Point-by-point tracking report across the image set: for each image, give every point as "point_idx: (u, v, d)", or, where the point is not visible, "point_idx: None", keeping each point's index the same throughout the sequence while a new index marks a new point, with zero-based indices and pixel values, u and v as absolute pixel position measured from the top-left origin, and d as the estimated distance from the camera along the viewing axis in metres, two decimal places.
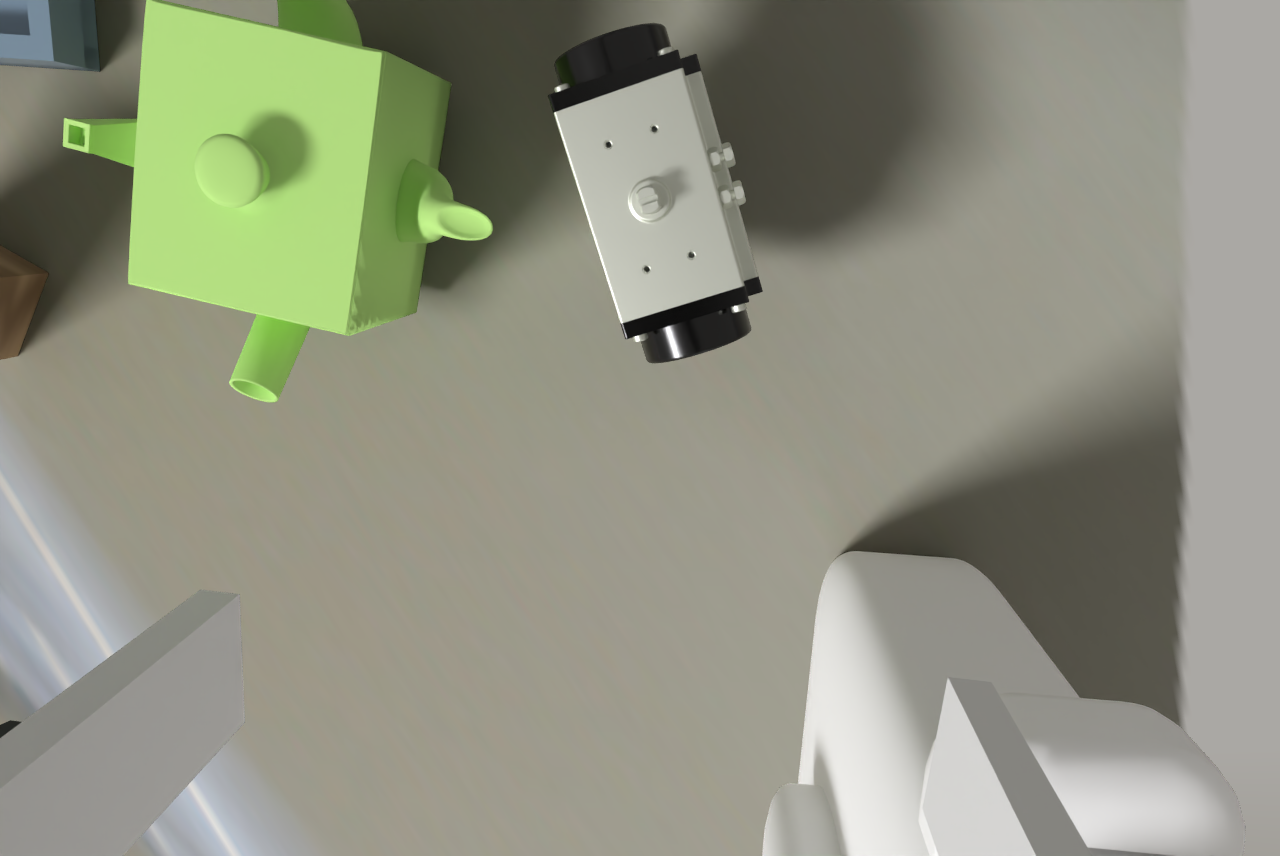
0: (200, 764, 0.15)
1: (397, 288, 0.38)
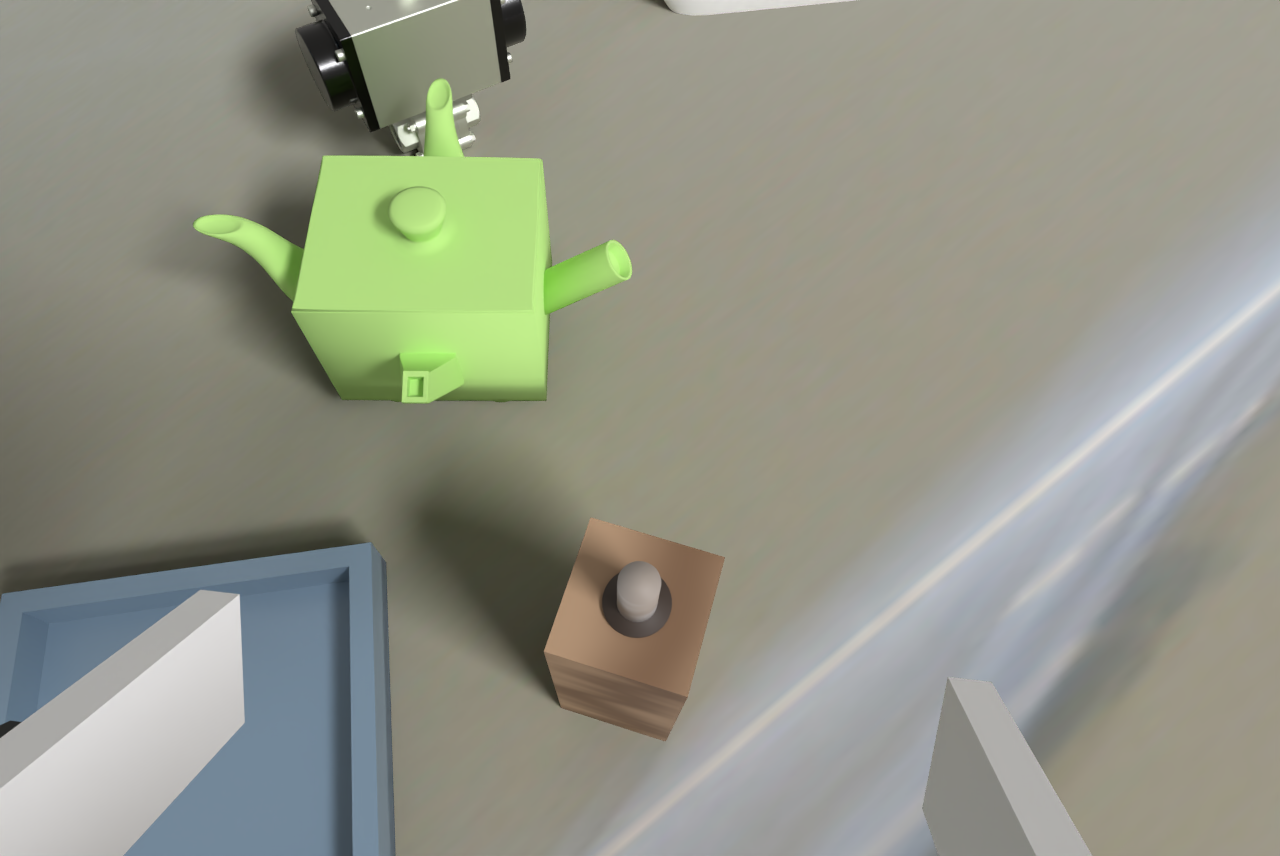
0: (200, 764, 0.15)
1: None
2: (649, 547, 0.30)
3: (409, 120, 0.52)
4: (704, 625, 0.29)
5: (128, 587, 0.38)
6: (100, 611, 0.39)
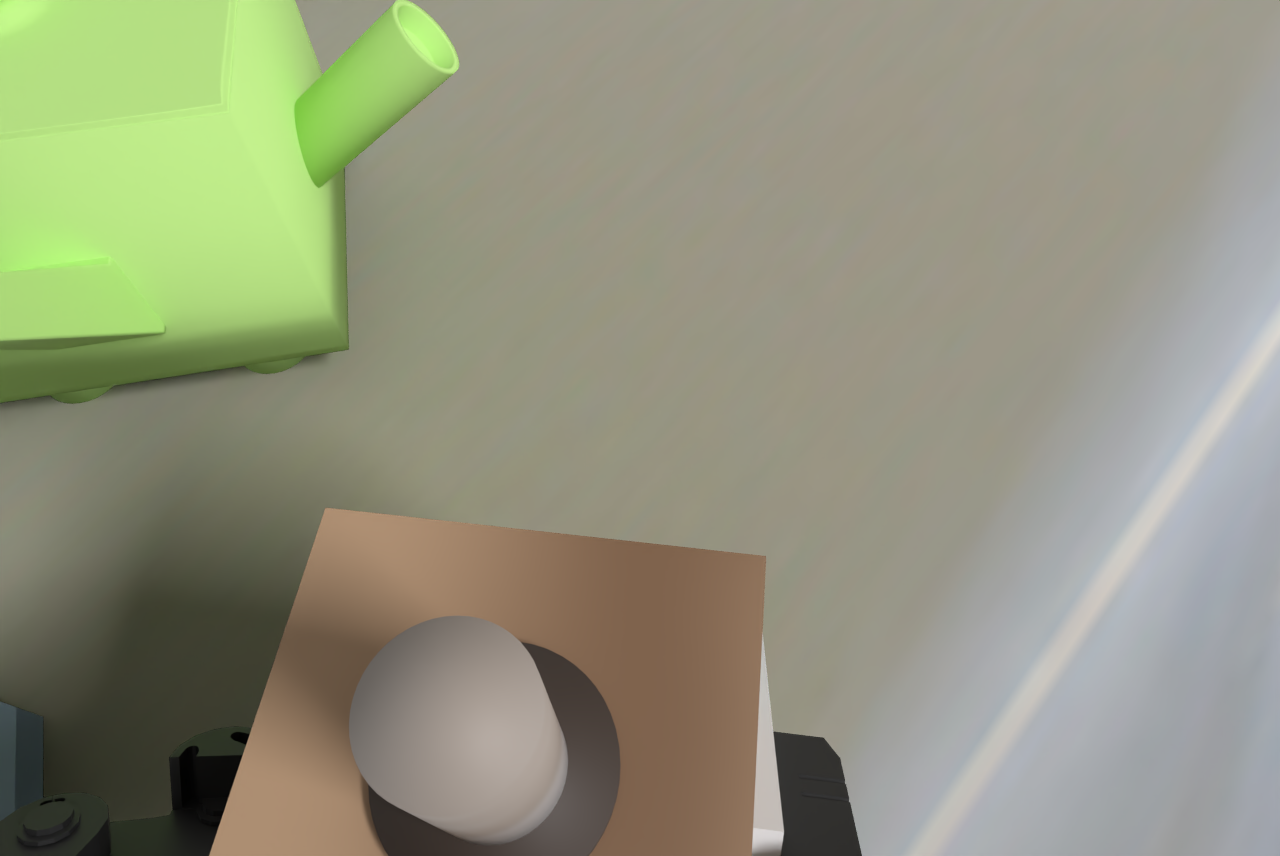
0: None
1: None
2: (519, 567, 0.09)
3: None
4: (746, 805, 0.08)
5: None
6: None
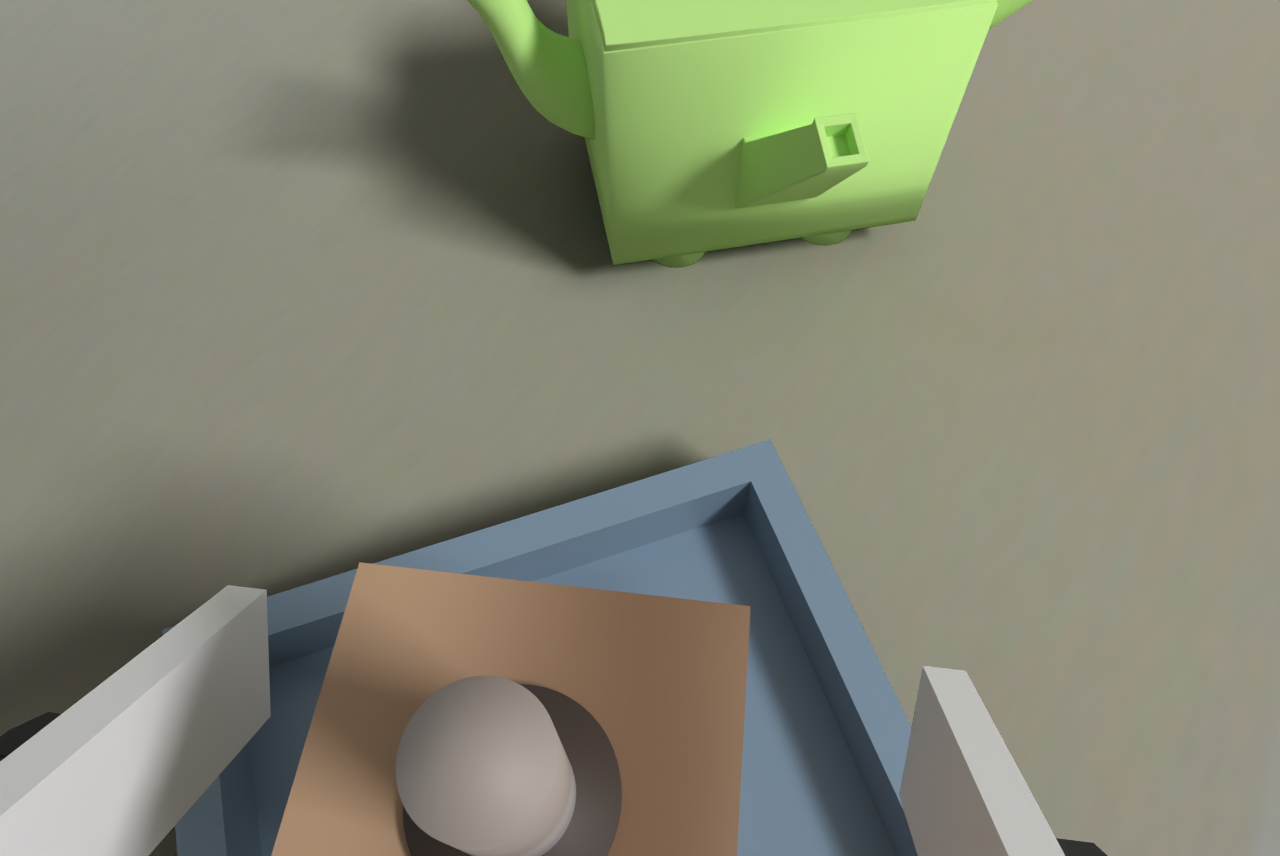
0: (229, 756, 0.15)
1: None
2: (532, 617, 0.11)
3: None
4: (731, 830, 0.09)
5: None
6: (333, 636, 0.22)
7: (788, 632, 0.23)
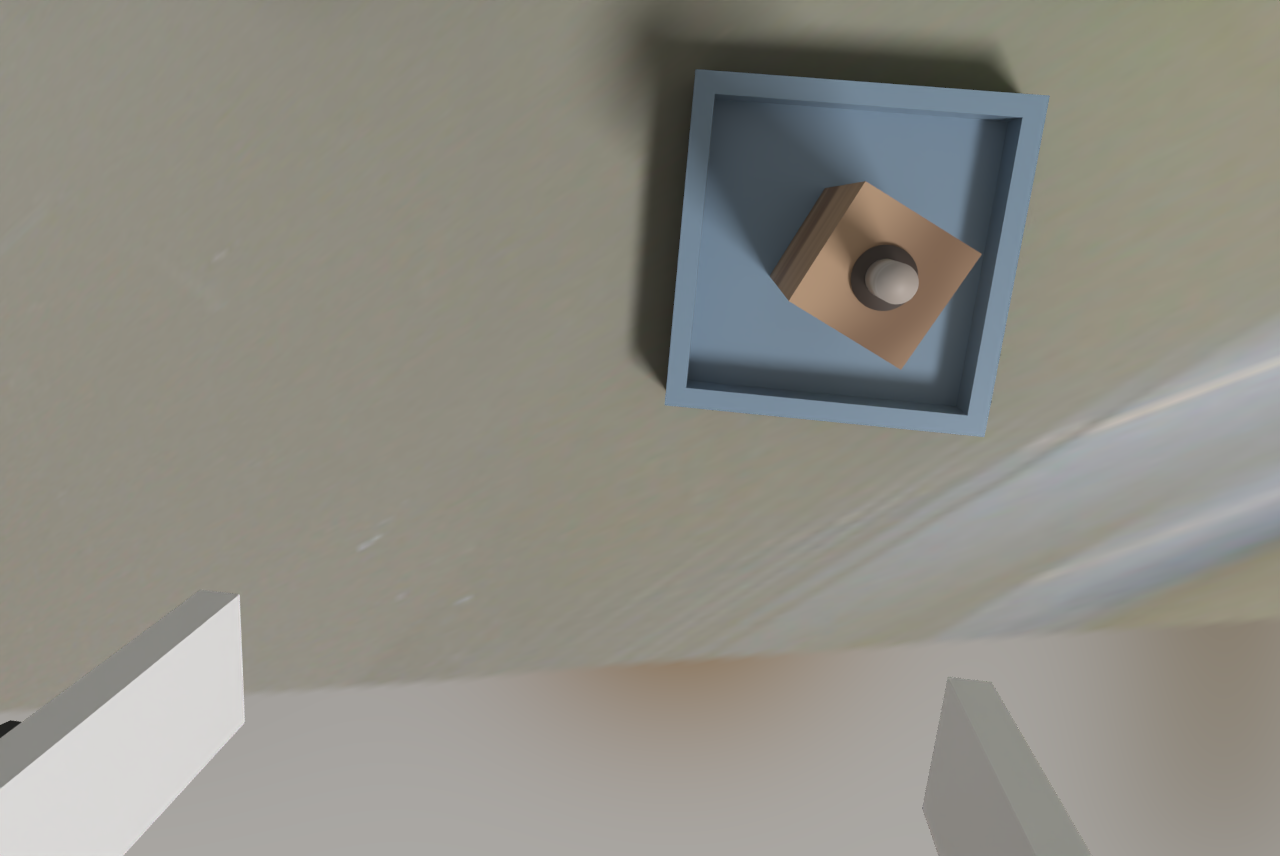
0: (200, 764, 0.15)
1: None
2: (912, 226, 0.31)
3: None
4: (938, 313, 0.32)
5: (811, 90, 0.39)
6: (768, 101, 0.41)
7: (989, 199, 0.42)
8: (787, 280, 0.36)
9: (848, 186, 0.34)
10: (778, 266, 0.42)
